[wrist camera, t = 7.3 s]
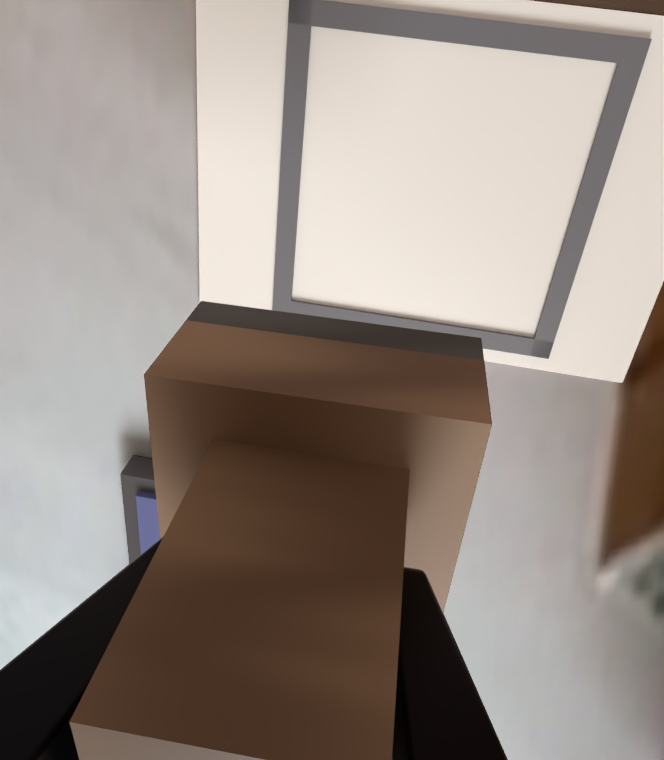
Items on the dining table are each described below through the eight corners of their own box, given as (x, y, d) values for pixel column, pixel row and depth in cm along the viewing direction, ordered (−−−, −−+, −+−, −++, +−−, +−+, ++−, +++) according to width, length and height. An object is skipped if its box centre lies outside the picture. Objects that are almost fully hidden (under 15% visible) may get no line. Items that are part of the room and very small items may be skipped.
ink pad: (327, 490, 25) (321, 516, 24) (311, 620, 29) (305, 648, 28) (133, 455, 26) (117, 479, 24) (144, 588, 30) (131, 614, 28)
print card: (758, 27, 15) (768, 27, 15) (619, 376, 21) (623, 385, 20) (200, -38, 16) (193, -39, 16) (203, 310, 22) (198, 317, 21)
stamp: (481, 337, 11) (532, 744, 5) (434, 542, 14) (430, 965, 8) (201, 301, 11) (-58, 634, 5) (209, 506, 14) (40, 882, 8)
